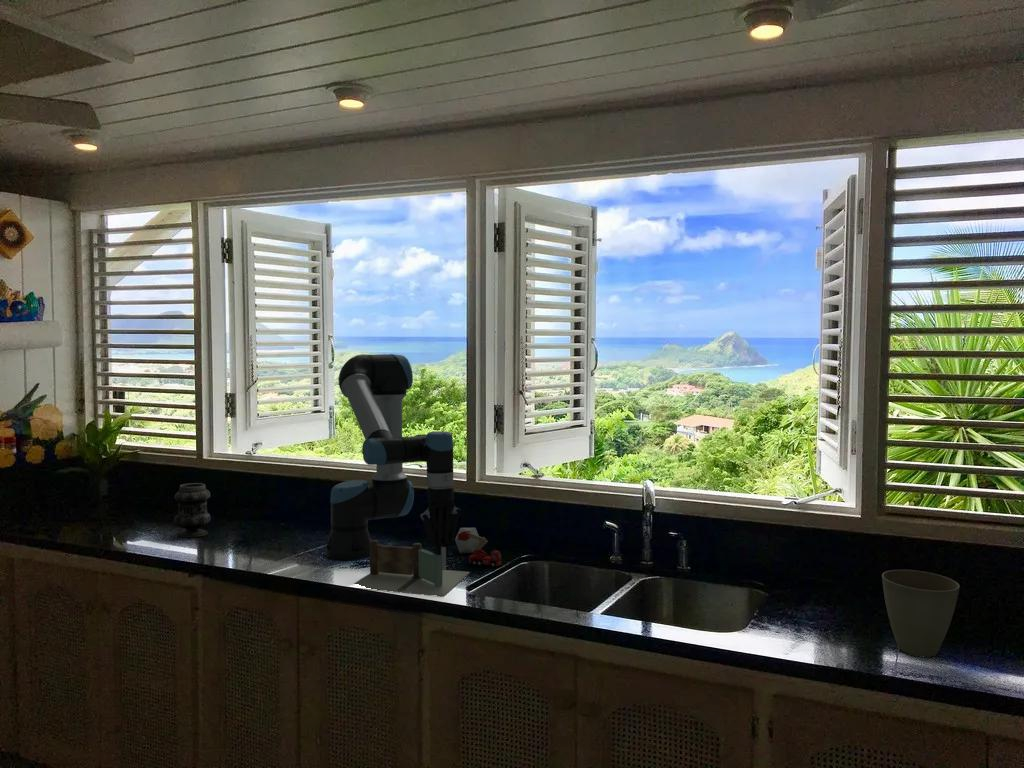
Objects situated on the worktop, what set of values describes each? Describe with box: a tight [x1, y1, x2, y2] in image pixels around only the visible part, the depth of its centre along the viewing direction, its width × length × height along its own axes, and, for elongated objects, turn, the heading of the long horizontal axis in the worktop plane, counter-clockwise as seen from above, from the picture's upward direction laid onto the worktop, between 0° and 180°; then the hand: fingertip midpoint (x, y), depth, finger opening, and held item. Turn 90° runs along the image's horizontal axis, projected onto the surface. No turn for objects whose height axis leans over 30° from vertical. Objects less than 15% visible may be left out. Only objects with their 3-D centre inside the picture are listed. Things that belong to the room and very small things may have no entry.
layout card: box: [353, 569, 471, 597], centre depth 210 cm, size 28×22×1 cm
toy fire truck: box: [457, 531, 502, 568], centre depth 227 cm, size 3×14×10 cm, turn 71°
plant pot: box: [881, 569, 961, 658], centre depth 161 cm, size 15×15×16 cm
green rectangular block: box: [418, 548, 442, 587], centre depth 207 cm, size 10×2×8 cm, turn 39°
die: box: [454, 527, 480, 554], centre depth 241 cm, size 8×9×10 cm
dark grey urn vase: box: [173, 482, 211, 539], centre depth 262 cm, size 12×12×18 cm
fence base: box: [369, 539, 423, 578], centre depth 214 cm, size 16×2×10 cm, turn 75°
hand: (441, 569), depth 208 cm, fingers closed
